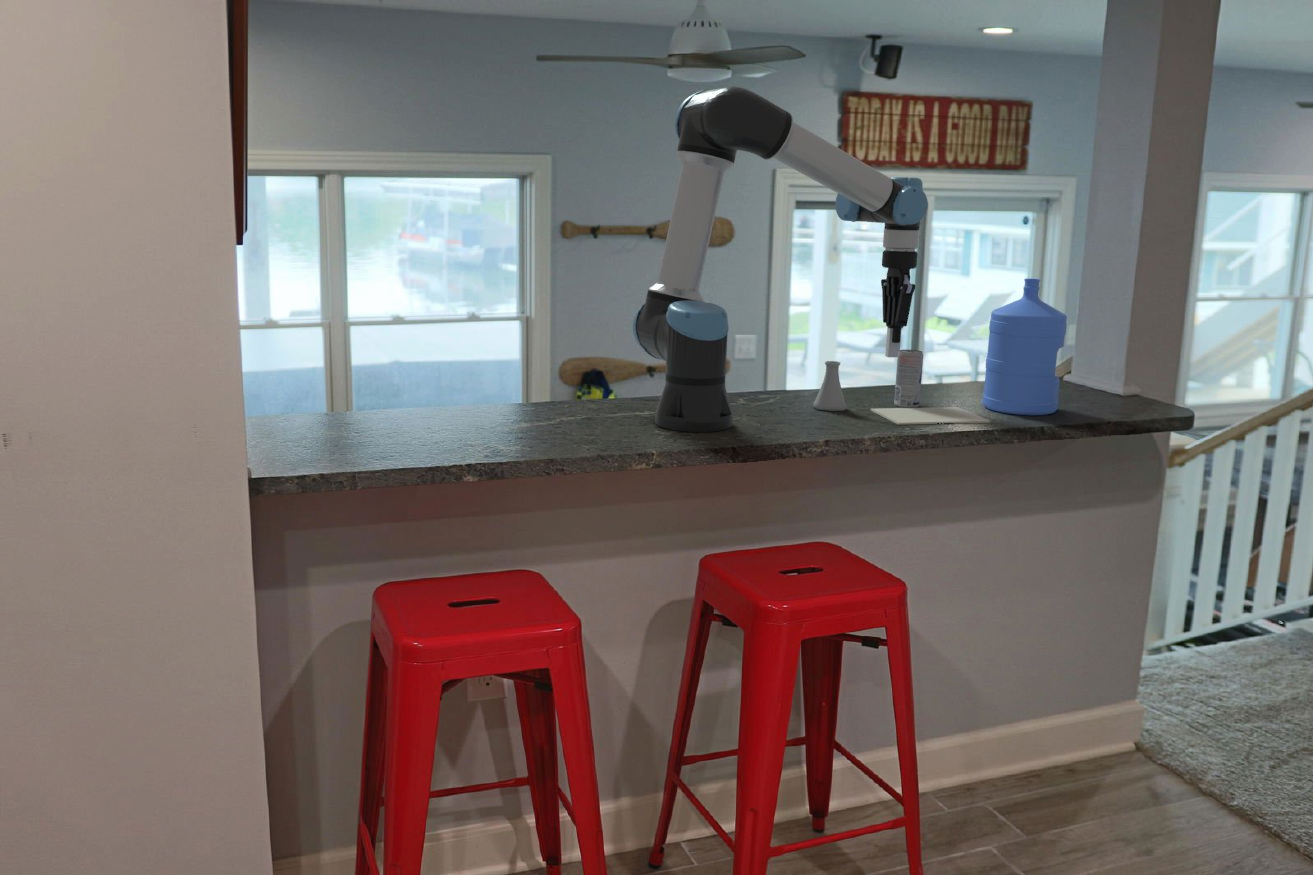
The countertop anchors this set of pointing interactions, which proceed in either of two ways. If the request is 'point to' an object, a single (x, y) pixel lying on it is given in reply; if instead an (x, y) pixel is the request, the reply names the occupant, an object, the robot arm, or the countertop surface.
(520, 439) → the countertop surface
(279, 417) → the countertop surface
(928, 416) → the mat
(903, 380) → the energy drink
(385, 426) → the countertop surface
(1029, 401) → the water jug
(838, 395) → the flask
